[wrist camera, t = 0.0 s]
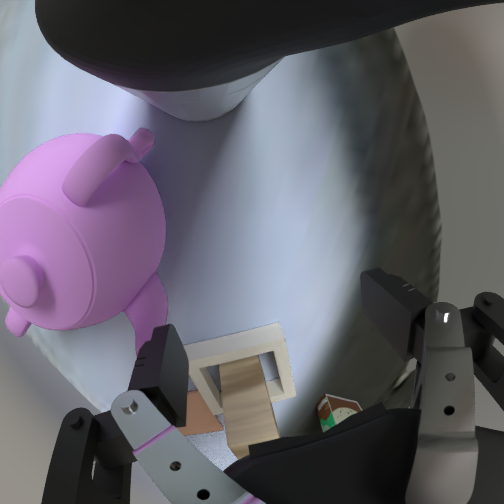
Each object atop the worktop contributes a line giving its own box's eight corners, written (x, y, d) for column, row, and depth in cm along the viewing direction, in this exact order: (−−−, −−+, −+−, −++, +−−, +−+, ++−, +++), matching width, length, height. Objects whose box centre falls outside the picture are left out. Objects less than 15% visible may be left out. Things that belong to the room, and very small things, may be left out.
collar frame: (183, 345, 32) (182, 362, 30) (278, 321, 33) (284, 337, 30) (212, 399, 37) (213, 415, 35) (291, 381, 38) (296, 396, 35)
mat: (127, 399, 36) (127, 401, 35) (199, 389, 36) (199, 392, 36) (160, 435, 41) (160, 437, 40) (223, 427, 41) (223, 430, 41)
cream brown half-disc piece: (294, 412, 42) (310, 459, 33) (319, 392, 40) (339, 440, 31) (339, 420, 46) (356, 459, 37) (361, 402, 45) (381, 441, 36)
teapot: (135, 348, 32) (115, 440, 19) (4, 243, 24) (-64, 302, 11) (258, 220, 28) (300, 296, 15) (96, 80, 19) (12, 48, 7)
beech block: (218, 358, 34) (227, 445, 22) (256, 349, 34) (277, 435, 22) (228, 381, 36) (240, 461, 24) (263, 373, 36) (284, 452, 25)
